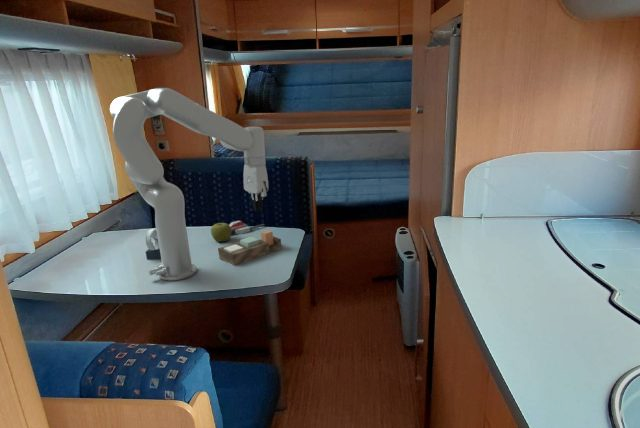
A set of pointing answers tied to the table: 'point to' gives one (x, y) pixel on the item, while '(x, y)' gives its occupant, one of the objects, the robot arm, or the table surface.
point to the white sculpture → (152, 250)
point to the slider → (267, 237)
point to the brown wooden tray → (248, 251)
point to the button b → (249, 241)
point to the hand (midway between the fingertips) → (258, 209)
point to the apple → (221, 232)
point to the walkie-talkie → (241, 227)
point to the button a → (233, 248)
